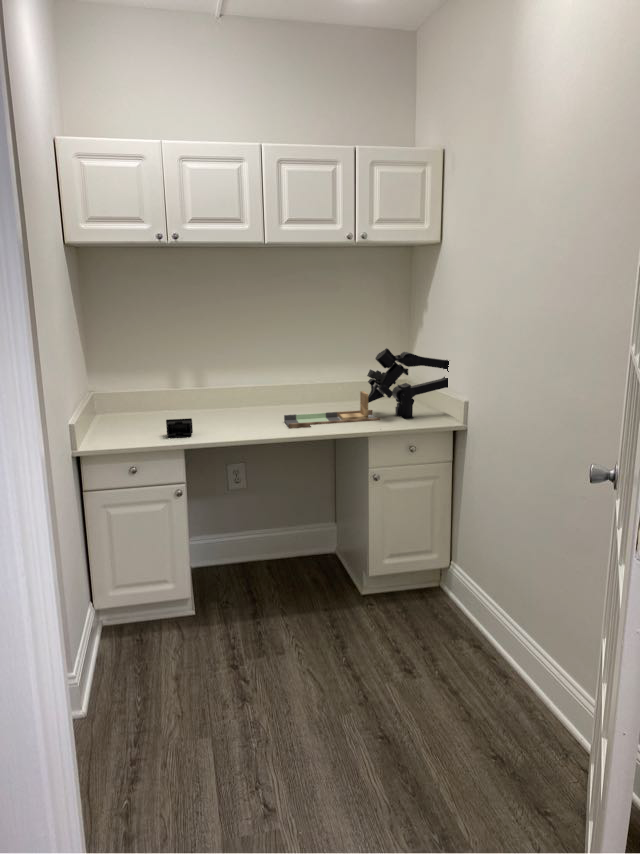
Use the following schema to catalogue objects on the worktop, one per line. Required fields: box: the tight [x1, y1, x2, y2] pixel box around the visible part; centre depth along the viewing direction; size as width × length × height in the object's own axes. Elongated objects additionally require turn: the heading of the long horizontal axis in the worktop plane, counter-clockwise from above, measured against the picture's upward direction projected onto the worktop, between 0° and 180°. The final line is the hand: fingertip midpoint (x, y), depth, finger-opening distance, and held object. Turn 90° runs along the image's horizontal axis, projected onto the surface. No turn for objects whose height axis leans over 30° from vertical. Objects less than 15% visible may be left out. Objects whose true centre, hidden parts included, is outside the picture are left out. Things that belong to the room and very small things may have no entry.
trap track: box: [283, 409, 377, 429], centre depth 282 cm, size 39×11×3 cm, turn 102°
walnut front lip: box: [288, 417, 381, 429], centre depth 276 cm, size 39×1×2 cm, turn 102°
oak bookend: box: [339, 390, 369, 420], centre depth 282 cm, size 11×7×11 cm, turn 102°
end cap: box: [165, 417, 194, 439], centre depth 262 cm, size 10×7×7 cm
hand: (366, 402), depth 283 cm, fingers closed
